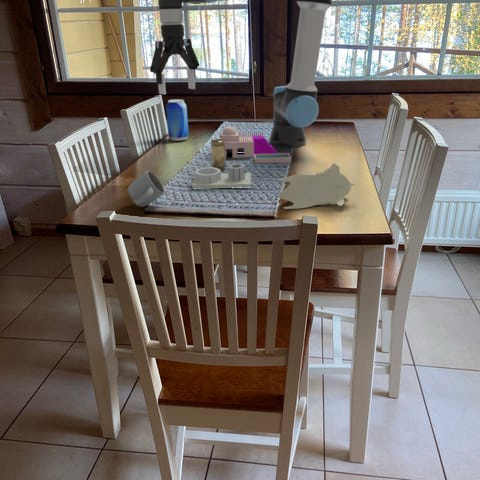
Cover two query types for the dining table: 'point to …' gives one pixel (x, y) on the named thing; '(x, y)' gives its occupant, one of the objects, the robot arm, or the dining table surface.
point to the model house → (251, 147)
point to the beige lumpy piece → (316, 188)
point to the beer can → (177, 119)
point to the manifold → (222, 177)
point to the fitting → (218, 154)
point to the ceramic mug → (145, 189)
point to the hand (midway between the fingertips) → (177, 91)
